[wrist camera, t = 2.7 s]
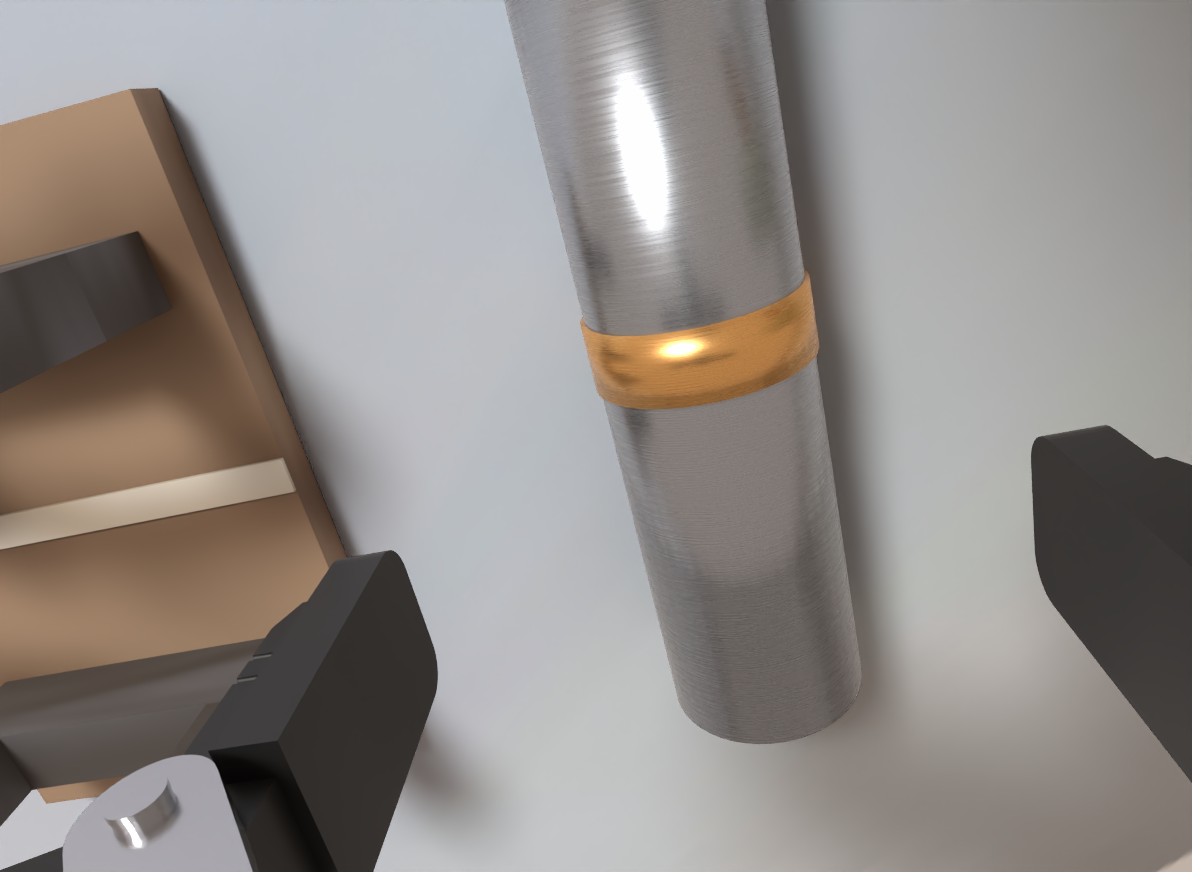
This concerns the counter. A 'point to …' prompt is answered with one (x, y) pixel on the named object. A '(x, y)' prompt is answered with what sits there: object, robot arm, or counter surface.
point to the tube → (701, 344)
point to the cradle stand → (131, 456)
